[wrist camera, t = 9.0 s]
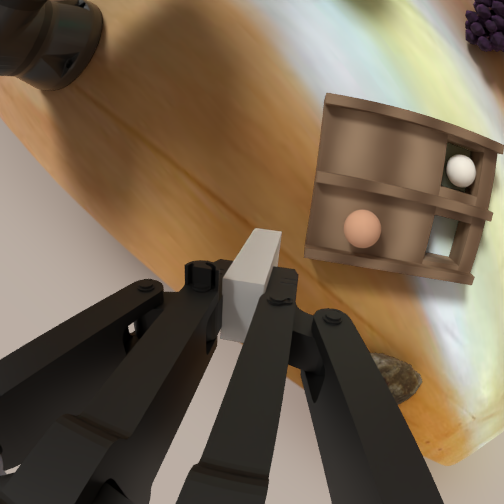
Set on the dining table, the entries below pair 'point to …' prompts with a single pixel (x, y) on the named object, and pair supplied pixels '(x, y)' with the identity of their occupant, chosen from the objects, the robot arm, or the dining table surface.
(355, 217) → the ball terracotta
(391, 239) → the board
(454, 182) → the ball cream
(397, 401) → the stone
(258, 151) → the dining table surface
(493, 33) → the fruit
